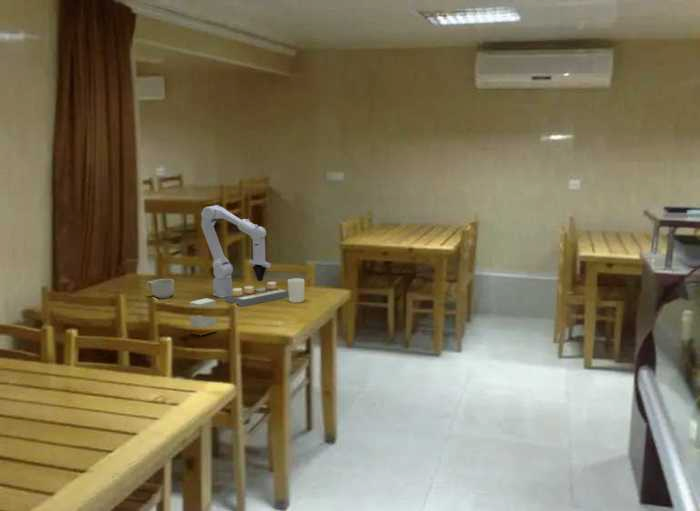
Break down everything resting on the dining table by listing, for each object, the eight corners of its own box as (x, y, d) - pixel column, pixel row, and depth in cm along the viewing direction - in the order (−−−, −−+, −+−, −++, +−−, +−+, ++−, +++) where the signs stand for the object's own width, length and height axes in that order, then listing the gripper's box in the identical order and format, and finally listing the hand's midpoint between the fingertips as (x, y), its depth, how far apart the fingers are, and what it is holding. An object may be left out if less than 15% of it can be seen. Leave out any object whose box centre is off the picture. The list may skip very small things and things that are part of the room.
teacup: (179, 295, 325) (178, 279, 324) (164, 300, 316) (163, 284, 314) (157, 293, 331) (156, 277, 330) (142, 298, 322) (140, 281, 320)
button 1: (231, 297, 309) (230, 289, 309) (239, 295, 312) (238, 287, 312) (236, 298, 306) (235, 290, 306) (244, 297, 309) (243, 288, 308)
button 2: (242, 295, 314) (242, 286, 313) (250, 293, 317) (250, 285, 316) (248, 296, 311) (247, 288, 310) (255, 295, 313) (255, 286, 313)
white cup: (302, 303, 306) (301, 282, 304) (286, 302, 307) (285, 281, 305) (307, 299, 313) (306, 278, 311) (291, 298, 315) (290, 278, 313)
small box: (207, 329, 265) (205, 297, 263) (217, 332, 261) (215, 300, 259) (190, 334, 259) (188, 301, 257) (200, 337, 255) (198, 304, 253)
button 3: (254, 296, 318) (254, 288, 318) (262, 295, 321) (261, 287, 321) (259, 298, 315) (259, 290, 314) (267, 296, 318) (267, 288, 317)
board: (226, 301, 311) (225, 294, 311) (271, 292, 328) (271, 286, 328) (242, 306, 301) (242, 299, 300) (288, 297, 318) (288, 290, 318)
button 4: (265, 290, 322) (265, 282, 322) (272, 289, 325) (272, 281, 325) (270, 292, 319) (270, 283, 318) (278, 290, 322) (277, 282, 321)
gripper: (243, 252, 317) (244, 279, 319) (261, 255, 307) (262, 284, 309) (255, 250, 322) (256, 277, 324) (273, 253, 312) (274, 281, 314)
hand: (260, 280), depth 317 cm, fingers closed
